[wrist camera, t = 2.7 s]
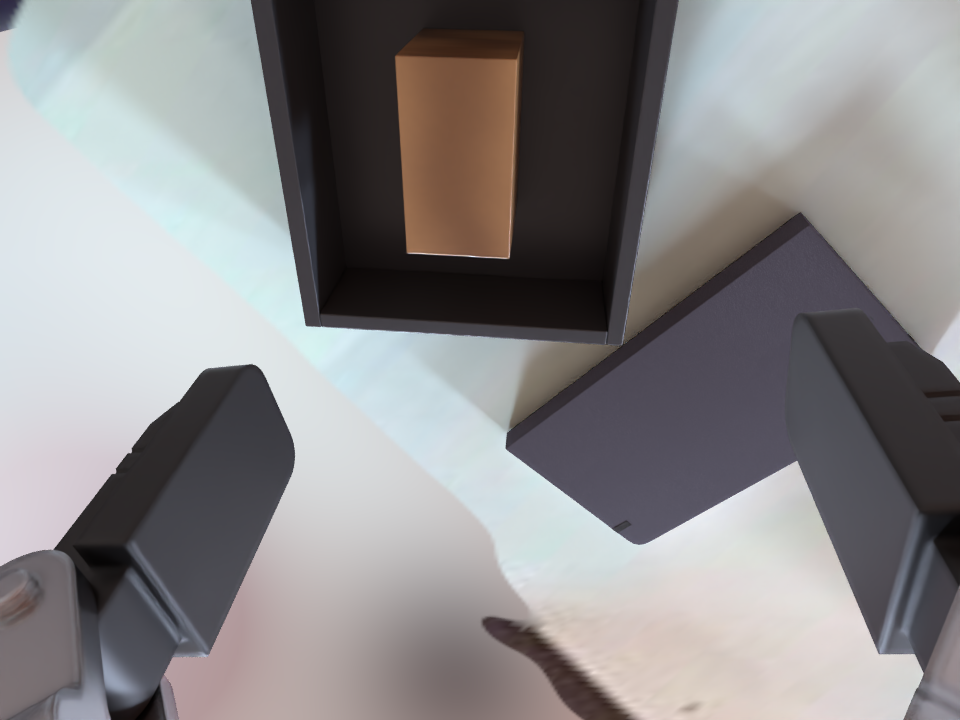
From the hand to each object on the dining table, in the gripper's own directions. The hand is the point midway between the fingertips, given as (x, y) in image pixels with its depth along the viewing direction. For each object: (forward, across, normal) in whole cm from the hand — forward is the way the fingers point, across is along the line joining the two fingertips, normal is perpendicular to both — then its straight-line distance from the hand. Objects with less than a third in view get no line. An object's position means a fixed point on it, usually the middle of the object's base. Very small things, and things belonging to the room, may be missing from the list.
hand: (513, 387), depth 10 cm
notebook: (+24, -7, +20) cm, 33 cm away
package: (+24, +4, +2) cm, 24 cm away
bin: (+24, +4, +2) cm, 25 cm away
